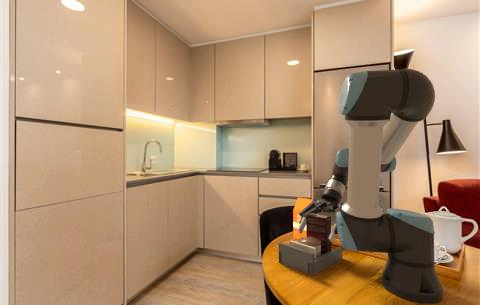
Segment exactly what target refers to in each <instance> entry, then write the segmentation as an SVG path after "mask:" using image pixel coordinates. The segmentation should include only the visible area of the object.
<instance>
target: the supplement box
mask: <svg viewBox="0 0 480 305" xmlns="http://www.w3.org/2000/svg"><path fill="white" fill-rule="evenodd" d="M331 231H332V216H331V215H325V214H320V213H318V214H313V213H310V214H307V215H306V237H315V238H318V239H320V240H321V255H323V254H325V253H327V252H329V251H331V250H332V243H331V242H330V240H329V239H328V238H329V236H330V234H331Z"/></svg>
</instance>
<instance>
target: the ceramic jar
mask: <svg viewBox="0 0 480 305" xmlns="http://www.w3.org/2000/svg"><path fill="white" fill-rule="evenodd" d="M297 240H298V241H297V242H298V243H302V244H305V245H308V246H311V247H315V248H316V258H317V257H319V256H321V240H320V239H318V238H315V237H300V238H299V239H297Z"/></svg>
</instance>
